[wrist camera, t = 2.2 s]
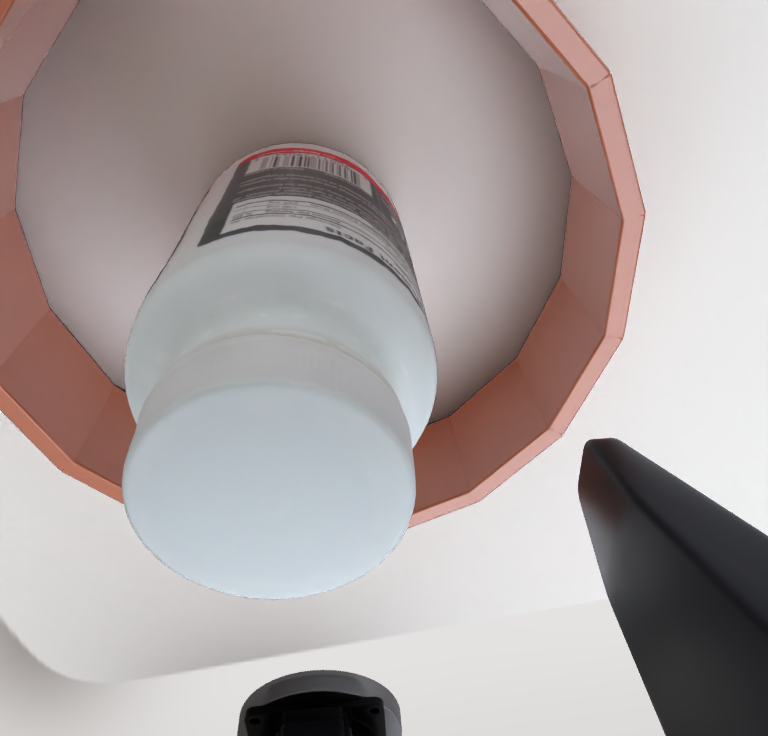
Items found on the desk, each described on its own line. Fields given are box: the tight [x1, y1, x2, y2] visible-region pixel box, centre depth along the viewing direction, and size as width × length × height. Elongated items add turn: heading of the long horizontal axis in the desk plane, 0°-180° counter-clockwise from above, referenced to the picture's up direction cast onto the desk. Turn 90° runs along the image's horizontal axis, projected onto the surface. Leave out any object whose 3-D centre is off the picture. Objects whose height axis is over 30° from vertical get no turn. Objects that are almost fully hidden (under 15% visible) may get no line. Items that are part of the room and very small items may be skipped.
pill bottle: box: [122, 143, 437, 600], centre depth 13 cm, size 5×5×10 cm
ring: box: [0, 0, 645, 529], centre depth 15 cm, size 15×15×4 cm
